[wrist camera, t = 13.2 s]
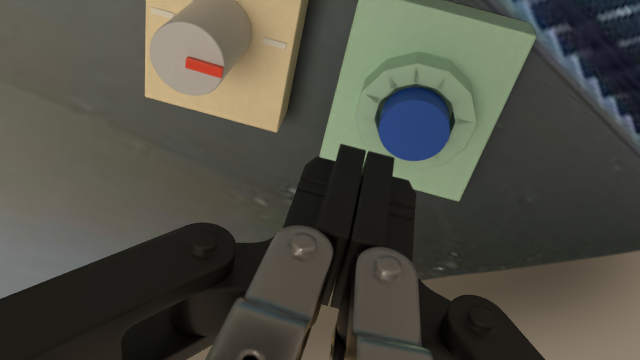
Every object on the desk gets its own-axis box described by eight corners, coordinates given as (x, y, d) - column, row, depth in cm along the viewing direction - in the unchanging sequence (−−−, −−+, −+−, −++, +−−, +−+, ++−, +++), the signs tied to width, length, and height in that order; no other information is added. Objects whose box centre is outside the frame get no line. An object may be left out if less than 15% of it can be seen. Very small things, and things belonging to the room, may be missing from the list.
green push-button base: (365, -22, 31) (357, -2, 28) (531, 23, 31) (542, 48, 28) (322, 146, 38) (312, 178, 35) (457, 183, 38) (460, 218, 35)
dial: (183, 49, 32) (145, 86, 28) (188, -16, 30) (147, 13, 26) (246, 68, 32) (217, 108, 28) (256, 4, 30) (227, 37, 26)
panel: (169, -112, 30) (145, -104, 28) (322, -71, 30) (312, -60, 27) (163, 78, 37) (143, 97, 35) (287, 112, 37) (276, 134, 35)
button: (391, 78, 30) (389, 91, 29) (459, 97, 30) (460, 110, 29) (373, 136, 33) (370, 151, 31) (436, 153, 33) (436, 169, 31)
